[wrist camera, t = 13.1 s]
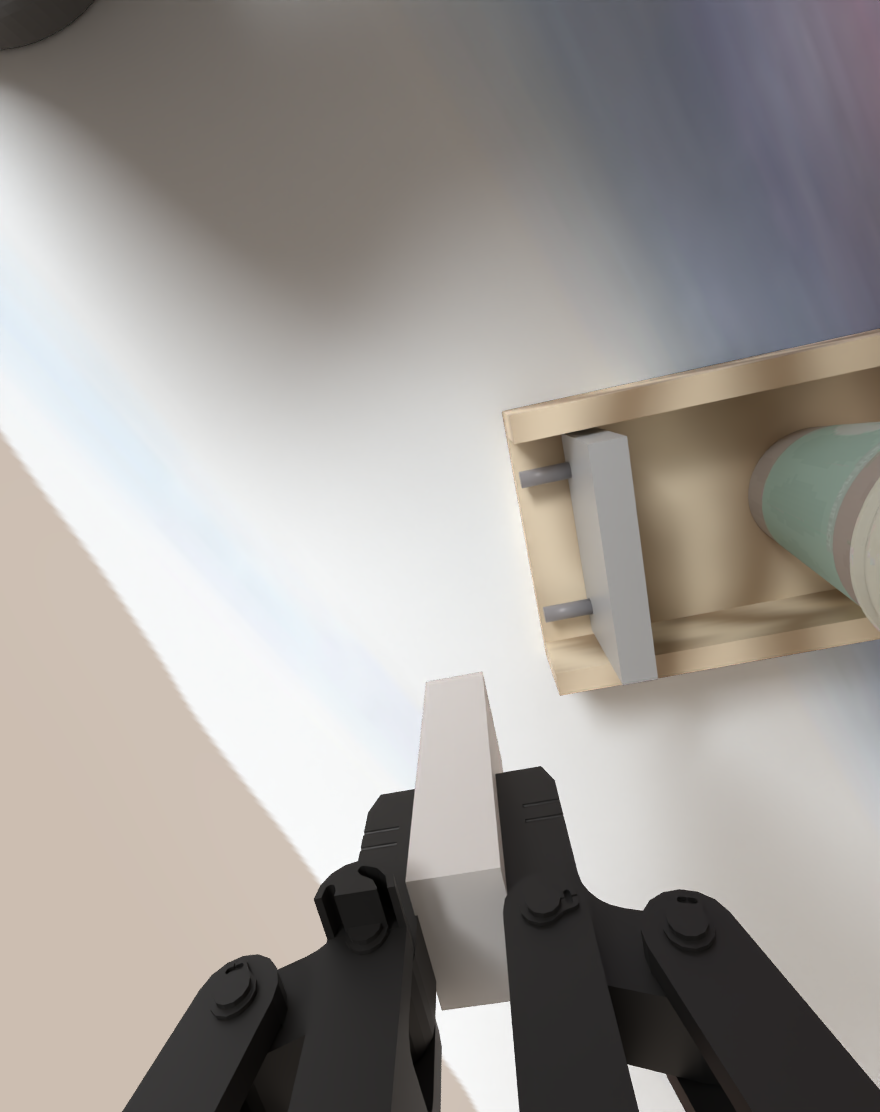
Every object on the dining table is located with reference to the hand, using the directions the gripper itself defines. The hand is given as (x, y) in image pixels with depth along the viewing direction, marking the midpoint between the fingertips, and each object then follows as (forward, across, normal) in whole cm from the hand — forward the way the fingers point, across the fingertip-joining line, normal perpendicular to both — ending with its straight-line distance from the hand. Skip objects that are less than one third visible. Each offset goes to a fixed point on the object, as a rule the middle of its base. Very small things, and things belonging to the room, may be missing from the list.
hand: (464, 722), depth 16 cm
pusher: (+15, +6, 0) cm, 16 cm away
